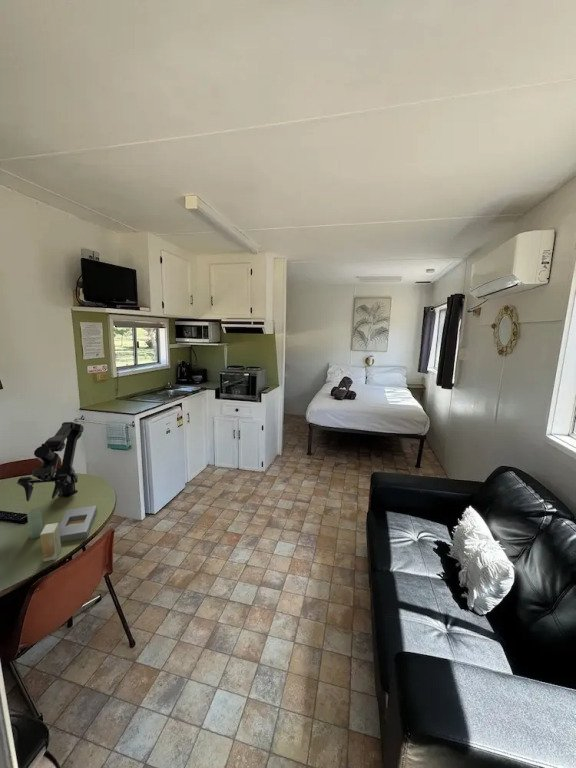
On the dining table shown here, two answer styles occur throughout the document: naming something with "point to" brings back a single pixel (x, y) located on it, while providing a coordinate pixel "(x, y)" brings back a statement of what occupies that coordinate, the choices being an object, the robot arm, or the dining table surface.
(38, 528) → the sage peg
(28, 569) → the dining table surface
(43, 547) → the skincare box
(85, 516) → the holder block
